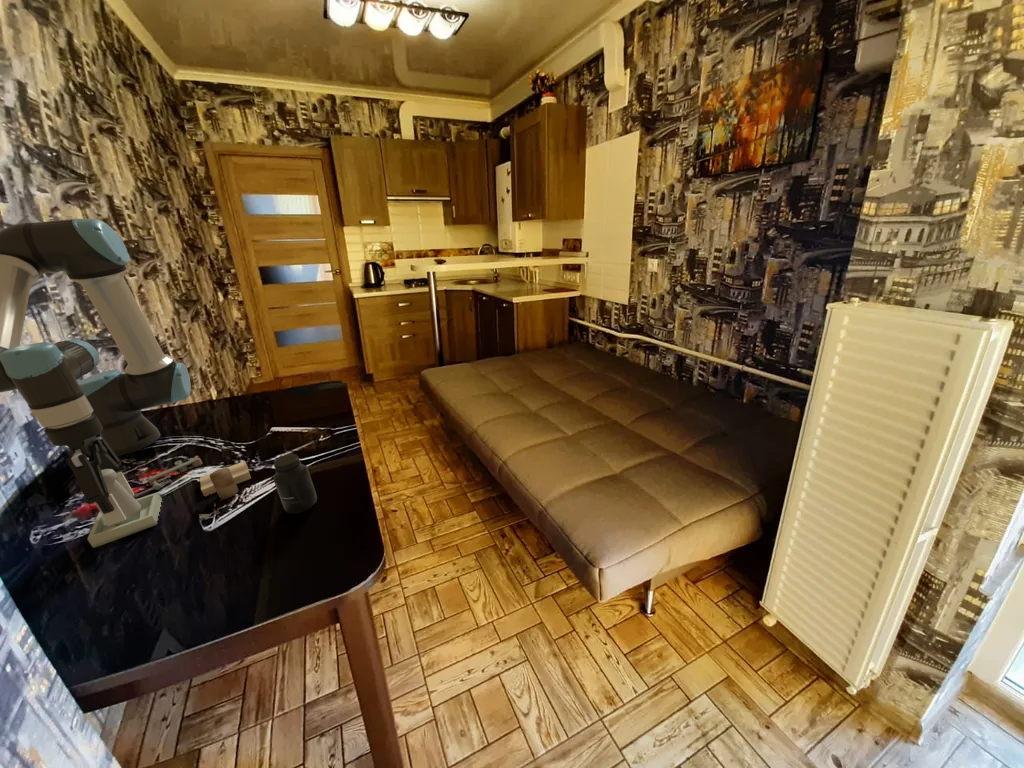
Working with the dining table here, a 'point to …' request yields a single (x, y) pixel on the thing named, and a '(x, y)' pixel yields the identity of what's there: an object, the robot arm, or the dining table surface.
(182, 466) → the clamp
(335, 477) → the dining table surface
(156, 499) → the tray
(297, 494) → the supplement bottle
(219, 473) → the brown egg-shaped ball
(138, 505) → the salt shaker
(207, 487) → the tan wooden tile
